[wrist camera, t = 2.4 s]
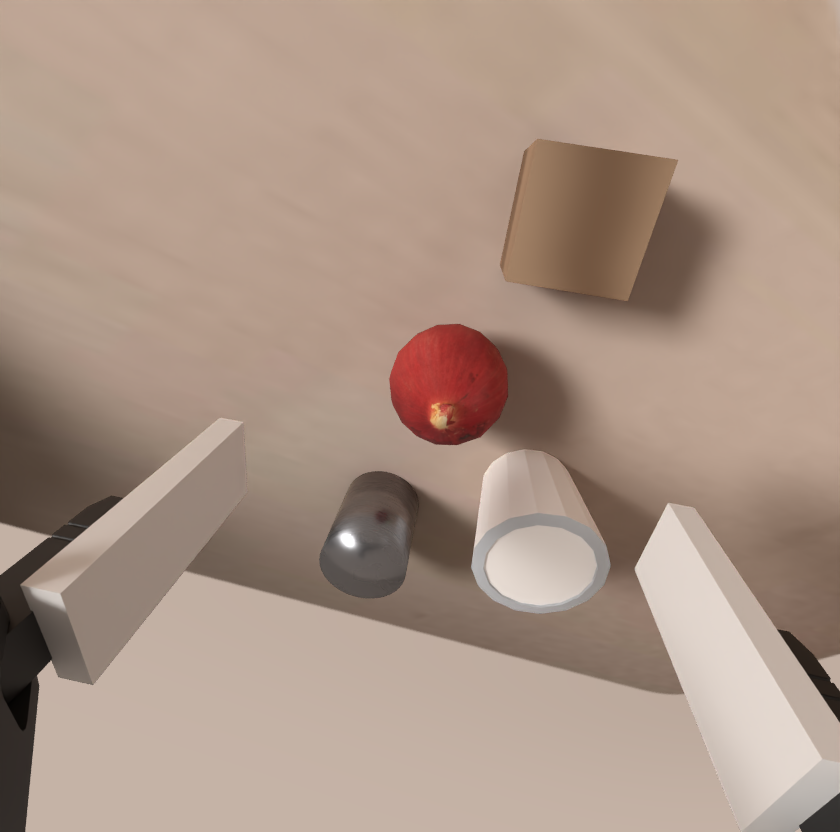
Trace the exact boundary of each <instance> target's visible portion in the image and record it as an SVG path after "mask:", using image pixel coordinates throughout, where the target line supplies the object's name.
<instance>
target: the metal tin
mask: <svg viewBox="0 0 840 832" xmlns="http://www.w3.org/2000/svg"><path fill="white" fill-rule="evenodd" d="M417 511H418V498H417V495H416V493H415V491H414V489H413V488H412V487H411V485H410V484H409V483H408V482H406V481H405V480H404V479H402V478H401V477H399V476H397V475H394V474H392V473H388V472H382V471H375V472H369V473H365V474H363V475H361V476H359V477H358V478H356V479H355V480H354V481H353V482H352V483H351V485H350V487H349V489H348V491H347V493H346V496H345V498H344V500H343V503H342V505H341V507H340V509H339V512H338V514H337V516H336V518H335V521H334V523H333V525H332V528H331V530H330V532H329V534H328V537H327V539H326V541H325V544H324V546H323V548H322V550H321V553H320V558H319V560H320V567H321V570H322V572H323V574H324V576H325V577H326V578H327V580H328V581H329V582H330V583H331V584H332V585H333V586H335V587H336V588H338V589H339V590H341V591H343V592H345V593H347V594H349V595H352V596H356V597H360V598H380V597H384V596H387V595H390V594H391V593H393V592H395V591H396V590H397V589H398V588H399V587H400V586H401V585H402V583H403V581H404V579H405V575H406V570H407V564H408V559H409V554H410V548H411V543H412V538H413V533H414V527H415V522H416V517H417Z"/></svg>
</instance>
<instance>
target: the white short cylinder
mask: <svg viewBox="0 0 840 832" xmlns="http://www.w3.org/2000/svg"><path fill="white" fill-rule="evenodd" d="M610 566H611V564H610V560H609V555H608V551H607V546H606V544H605V542H604V540H603V538H602V536H601V534H600V532H599V530H598V528H597V526H596V524H595V522H594V520H593V519H592V517H591V515H590V513H589V511H588V509H587V507H586V505H585V503H584V501H583V499H582V497H581V495H580V493H579V491H578V489H577V487H576V485H575V484H574V482H573V480H572V478H571V476H570V474H569V472H568V470H567V469H566V468H565V467H564V465H563V464H562V463H561V462H560V461H559V460H558V459H557V458H555V457H553V456H551V455H549V454H547V453H545V452H543V451H537V450H528V449H523V450H518V451H514V452H509V453H506V454H505V455H503V456H501V457H500V458H498V459H497V460H495V461H494V462H492V464H491V465H490V467H489V468H488V470H487V471H486V472H485V474H484V478H483V485H482V492H481V499H480V506H479V514H478V521H477V529H476V536H475V543H474V551H473V558H472V566H471V569H472V571H473V574H474V576H475V579H476V581H477V584H478V586H479V587H480V588H481V589H482V590H483V591H484V592H485V593H486V594H487V595H488V596H489V597H490V598H492V599H493V600H494V601H496V602H498V603H500V604H502V605H505V606H507V607H509V608H511V609H514V610H517V611H524V612H531V613H539V614H542V613H550V612H558V611H565V610H568V609H570V608H572V607H575V606H577V605H579V604H581V603H584V602H586V601H588V600H589V599H590V598H591V597H592V596H593V595H594V594H595V593H596V592H597V591H598V590H599V589H600V588H601V587H602V586H603V585H604V584H605V581H606V578H607V575H608V572H609V569H610Z"/></svg>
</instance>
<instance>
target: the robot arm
mask: <svg viewBox="0 0 840 832" xmlns="http://www.w3.org/2000/svg"><path fill="white" fill-rule="evenodd" d="M247 492H248V490H247V473H246V456H245V439H244V422H241V421H236V420H230V419H225V418H219V419H218V420H217V421H215V422H214V423H213V424H212V425H211V426H209V427H208V428H207V429H206V430H205V431H203V432H202V433H201V434H200V435H199V436H197V437H196V438H195V439H194V440H193V441H191V442H190V443H189V444H188V445H187V446H185V447H184V448H183V449H182V450H181V451H179V452H178V453H177V454H176V455H175V456H174V457H172V458H171V459H170V460H169V461H168V462H166V463H165V464H164V465H163V466H162V467H160V468H159V469H158V470H157V471H156V472H154V473H153V474H152V475H151V476H150V477H148V478H147V479H146V480H145V481H144V482H142V483H141V484H140V485H139V486H138V487H136V488H135V489H134V490H133V491H132V492H130V493H129V494H128V495H127V496H126V497H125V498H120V497H115V496H110V497H108V498H106V499H104V500H101V501H99V502H97V503H95V504H93V505H91V506H89V507H87V508H86V509H84V510H83V511H82V512H80V513H79V514H78V515H77V516H75V517H74V518H73V519H72V520H70V521H69V522H68V525H64V526H63V527H61V528H60V529H59V530H57V531H56V532H55V533H54V534H53V536H52V537H51V538H47V539H46V540H45V541H43V542H42V543H41V544H40V545H38V546H37V547H36V548H34V549H33V550H32V551H31V552H29V553H28V554H27V555H26V556H24V557H23V558H22V559H20V560H19V561H18V562H17V563H16V564H14V565H13V566H12V567H10V568H9V569H8V570H6V571H5V572H4V573H3V574H1V575H0V832H25V827H26V817H27V807H28V796H29V785H30V774H31V765H32V755H33V745H34V734H35V724H36V714H37V703H38V693H39V683H38V678H37V675H38V673H39V672H40V671H41V670H42V669H43V668H44V667H45V666H46V665H47V664H48V663H49V662H50V660H51V661H52V663H53V665H54V668H55V670H56V673H57V675H58V677H60V678H64V679H69V680H73V681H78V682H82V683H87V684H91V685H93V684H94V683H95V682H96V681H97V680H98V678H99V677H100V676H101V675H102V673H103V672H104V671H105V670H106V668H107V667H108V666H109V665H110V663H111V662H112V661H113V660H114V658H115V657H116V656H117V655H118V653H119V652H120V651H121V650H122V648H123V647H124V646H125V645H126V643H127V642H128V641H129V640H130V638H131V637H132V636H133V634H134V633H135V632H136V631H137V629H138V628H139V627H140V626H141V625H142V623H143V622H144V621H145V620H146V618H147V617H148V616H149V615H150V613H151V612H152V611H153V610H154V608H155V607H156V606H157V605H158V603H159V602H160V601H161V600H162V598H163V597H164V596H165V595H166V593H167V592H168V591H169V590H170V588H171V587H172V586H173V585H174V583H175V582H176V581H177V580H178V578H179V577H180V576H181V575H182V573H183V572H184V571H185V570H186V568H187V567H188V566H189V565H190V563H191V562H192V561H193V560H194V558H195V557H196V556H197V555H198V553H199V552H200V551H201V550H202V548H203V547H204V546H205V545H206V543H207V542H208V541H209V540H210V538H211V537H212V536H213V535H214V533H215V532H216V531H217V530H218V528H219V527H220V526H221V525H222V523H223V522H224V521H225V520H226V518H227V517H228V516H229V515H230V513H231V512H232V511H233V510H234V508H235V507H236V506H237V505H238V503H239V502H240V501H241V500H242V498H243V497H244V496H245V495H246V493H247ZM635 572H636V574H637V577H638V579H639V582H640V584H641V587H642V589H643V592H644V594H645V597H646V599H647V602H648V604H649V607H650V609H651V612H652V614H653V616H654V619H655V621H656V624H657V626H658V629H659V631H660V634H661V636H662V639H663V641H664V644H665V646H666V649H667V651H668V654H669V656H670V659H671V661H672V664H673V666H674V669H675V671H676V674H677V676H678V679H679V681H680V683H681V686H682V688H683V691H684V693H685V696H686V698H687V701H688V703H689V706H690V708H691V711H692V713H693V716H694V718H695V720H696V723H697V726H698V728H699V730H700V733H701V735H702V738H703V741H704V743H705V746H706V748H707V750H708V753H709V755H710V758H711V760H712V763H713V765H714V768H715V770H716V773H717V775H718V778H719V780H720V783H721V785H722V788H723V790H724V792H725V795H726V797H727V800H728V803H729V805H730V808H731V810H732V812H733V815H734V817H735V820H736V822H737V825H738V827H739V830H740V832H795V831H796V830H797V829H799V828H800V829H801V831H802V832H840V691H839V690H838V688H837V687H836V686H835V684H834V683H831V682H830V677H829V676H828V674H827V673H826V672H825V670H824V669H823V667H822V666H821V665H820V663H819V662H818V660H817V659H816V658H815V656H814V655H813V654H812V653H811V652H810V651H809V650H808V649H807V648H806V647H805V646H804V645H803V644H802V643H801V642H799V641H798V640H797V639H796V638H795V637H794V636H793V635H792V634H791V633H790V632H787V631H782V630H778V629H776V628H775V626H774V625H773V623H772V622H771V620H770V619H769V617H768V616H767V614H766V613H765V611H764V610H763V608H762V607H761V605H760V604H759V602H758V601H757V599H756V598H755V596H754V595H753V594H752V592H751V591H750V589H749V588H748V586H747V585H746V583H745V582H744V580H743V579H742V577H741V576H740V574H739V573H738V571H737V570H736V568H735V567H734V565H733V564H732V562H731V561H730V559H729V558H728V557H727V555H726V554H725V552H724V551H723V549H722V548H721V546H720V545H719V543H718V542H717V540H716V539H715V537H714V536H713V534H712V533H711V531H710V530H709V528H708V527H707V525H706V524H705V522H704V521H703V520H702V518H701V517H700V515H699V514H698V512H697V511H696V509H695V508H694V507H688V506H683V505H678V504H673V503H668V504H667V506H666V508H665V510H664V512H663V514H662V516H661V518H660V520H659V522H658V524H657V526H656V528H655V530H654V531H653V533H652V535H651V537H650V539H649V541H648V543H647V545H646V547H645V549H644V551H643V553H642V555H641V557H640V559H639V561H638V563H637V565H636V567H635Z"/></svg>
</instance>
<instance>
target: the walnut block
mask: <svg viewBox="0 0 840 832" xmlns="http://www.w3.org/2000/svg"><path fill="white" fill-rule="evenodd" d="M677 162H678V160H675V159H669V158H662V157H655V156H649V155H642V154H635V153H629V152H622V151H615V150H608V149H602V148H595V147H588V146H582V145H575V144H568V143H562V142H555V141H548V140H542V139H537V140H536V141H535V142H534V143H533V144H532V145H531V146H529V147H528V148H527V149H526V150H525V151H524V155H523V159H522V164H521V169H520V173H519V178H518V183H517V187H516V192H515V197H514V202H513V206H512V211H511V216H510V220H509V225H508V230H507V234H506V239H505V244H504V248H503V253H502V258H501V262H500V266H501V269H502V272H503V275H504V278H505V281H507V282H514V283H520V284H526V285H532V286H538V287H544V288H550V289H556V290H562V291H569V292H575V293H581V294H587V295H593V296H599V297H605V298H611V299H617V300H624V301H628V299H629V296H630V293H631V291H632V288H633V285H634V282H635V279H636V277H637V274H638V271H639V268H640V265H641V263H642V260H643V257H644V254H645V251H646V249H647V246H648V243H649V240H650V237H651V235H652V232H653V229H654V226H655V223H656V221H657V218H658V215H659V212H660V209H661V207H662V204H663V201H664V198H665V195H666V193H667V190H668V187H669V184H670V181H671V179H672V176H673V173H674V170H675V168H676V165H677Z"/></svg>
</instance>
